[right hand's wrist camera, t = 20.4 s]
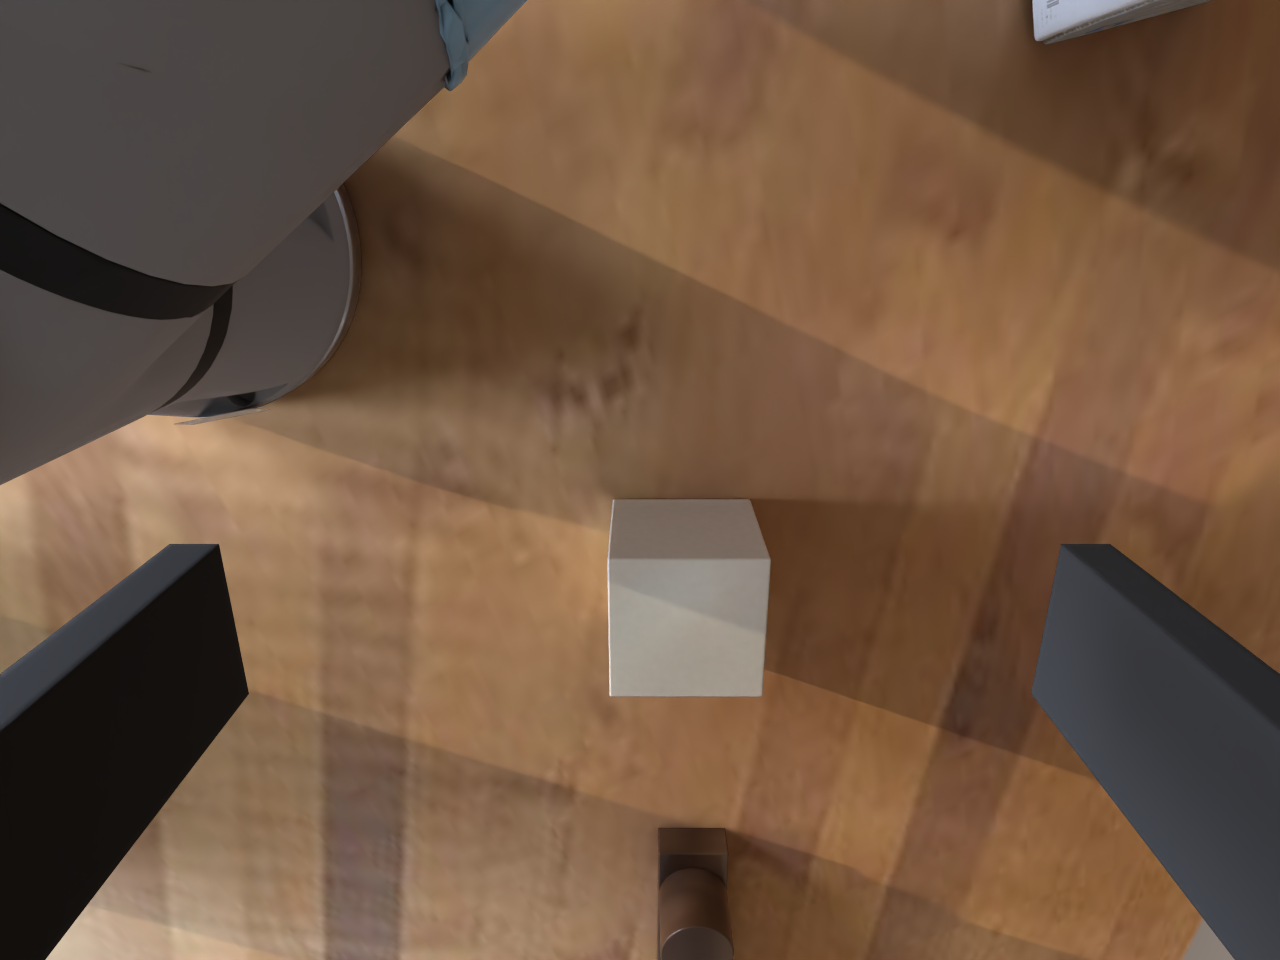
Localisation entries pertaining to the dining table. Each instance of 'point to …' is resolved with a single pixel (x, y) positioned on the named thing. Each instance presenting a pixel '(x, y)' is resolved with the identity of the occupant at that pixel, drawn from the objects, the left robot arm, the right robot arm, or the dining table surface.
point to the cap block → (686, 598)
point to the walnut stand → (693, 895)
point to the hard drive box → (1095, 15)
